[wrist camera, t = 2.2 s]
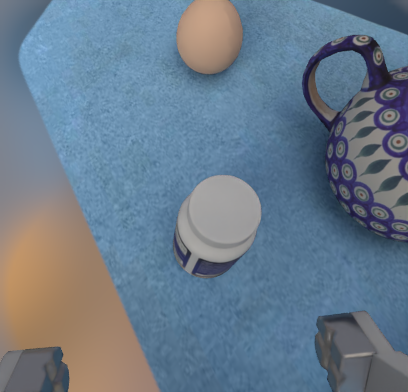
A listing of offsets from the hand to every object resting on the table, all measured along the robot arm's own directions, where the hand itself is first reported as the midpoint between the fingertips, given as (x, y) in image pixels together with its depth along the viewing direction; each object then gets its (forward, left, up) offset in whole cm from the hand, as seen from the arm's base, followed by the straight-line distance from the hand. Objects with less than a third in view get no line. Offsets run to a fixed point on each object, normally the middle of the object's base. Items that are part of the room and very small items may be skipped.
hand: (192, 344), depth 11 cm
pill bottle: (+7, +4, -18) cm, 20 cm away
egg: (+21, +19, -18) cm, 34 cm away
